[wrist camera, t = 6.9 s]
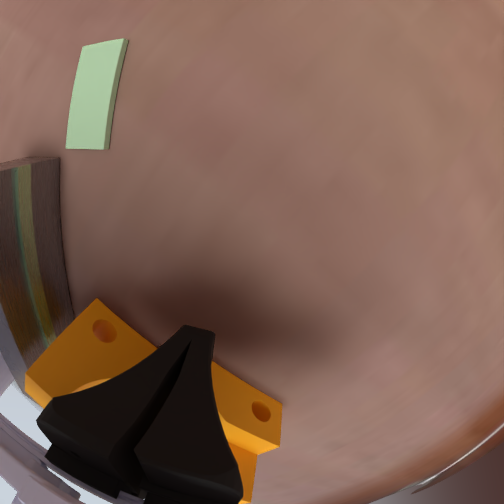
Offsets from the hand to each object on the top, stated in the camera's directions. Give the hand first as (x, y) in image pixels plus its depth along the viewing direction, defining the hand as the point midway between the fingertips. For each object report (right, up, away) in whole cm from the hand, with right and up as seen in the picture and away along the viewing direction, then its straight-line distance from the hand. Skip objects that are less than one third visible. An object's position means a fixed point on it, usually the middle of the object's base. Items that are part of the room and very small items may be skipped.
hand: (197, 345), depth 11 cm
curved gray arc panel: (-10, +3, +2) cm, 10 cm away
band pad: (-4, +11, -2) cm, 12 cm away
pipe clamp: (-2, -2, +3) cm, 4 cm away
